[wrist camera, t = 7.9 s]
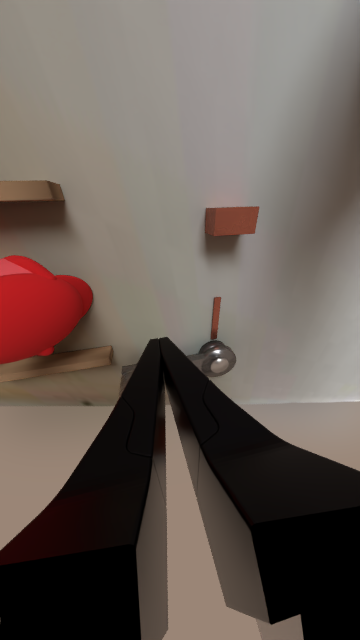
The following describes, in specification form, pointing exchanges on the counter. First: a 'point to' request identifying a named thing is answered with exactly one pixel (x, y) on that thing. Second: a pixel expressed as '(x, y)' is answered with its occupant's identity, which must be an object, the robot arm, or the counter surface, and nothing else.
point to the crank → (198, 363)
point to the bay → (53, 362)
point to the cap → (37, 308)
